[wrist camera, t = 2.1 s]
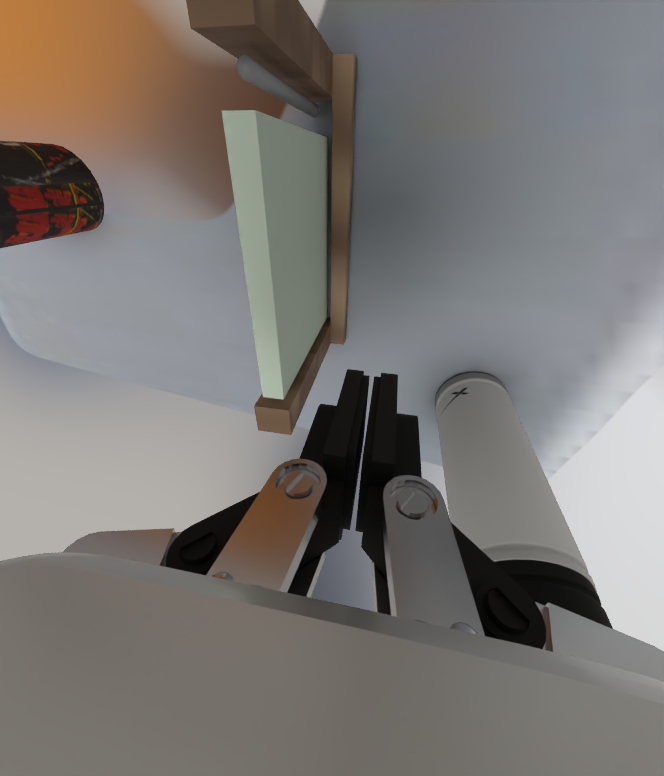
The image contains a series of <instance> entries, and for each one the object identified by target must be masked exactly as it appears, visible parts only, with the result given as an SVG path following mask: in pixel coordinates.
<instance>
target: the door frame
mask: <svg viewBox="0 0 664 776" xmlns="http://www.w3.org/2000/svg"><path fill="white" fill-rule="evenodd" d="M186 2H187V8H188V14H189V20H190V26H191V29H193V30H195V31H196V32H198V33H199V34H201V35H202V36H204V37H205V38H207V39H208V40H210V41H212V42H213V43H215V44H216V45H218V46H220V47H221V48H223V49H224V50H226V51H227V52H229V53H230V54H232V55H233V56H235V57H237V58H238V59H239V57H240V56H242V55H247V56H248V57H250V58H251V59H253V60H254V61H256V62H257V63H258V64H260V65H261V66H263V67H264V68H265V69H267V70H268V71H270V72H271V73H273V74H274V75H275V76H277V77H278V78H280V79H281V80H282V81H284V82H285V83H287V84H288V85H290V86H291V87H292V88H294V89H295V90H297V91H298V92H299V93H301V94H302V95H304V96H305V97H307V98H308V99H309V100H311V101H312V102H324V101H332V206H331V318H326V320H325V322H324V324H323V326H322V328H321V329H320V331H319V333H318V335H317V337H316V339H315V341H314V343H313V345H312V347H311V348H310V350H309V352H308V354H307V356H306V358H305V360H304V362H303V364H302V366H301V368H300V369H299V371H298V373H297V375H296V377H295V379H294V381H293V383H292V385H291V387H290V388H289V390H288V392H287V394H286V396H285V398H284V400H283V399H275V398H267V397H263V394H262V395H261V396H260V398H259V399H258V401H257V403H256V404H255V406H254V408H255V414H256V420H257V425H258V430H261V431H267V432H274V433H281V434H289V435H291V434H292V432H293V429H294V427H295V425H296V422H297V420H298V418H299V415H300V413H301V411H302V408H303V406H304V404H305V401H306V399H307V397H308V394H309V392H310V390H311V387H312V385H313V383H314V380H315V378H316V376H317V373H318V371H319V369H320V366H321V364H322V362H323V359H324V357H325V355H326V352H327V350H328V348H329V345H330V343H334V344H344V343H345V340H346V325H347V299H348V274H349V249H350V223H351V198H352V173H353V147H354V122H355V97H356V71H357V58H356V56H355V54H354V53H346V54H332V52H331V51H330V49H329V47H328V46H327V44H326V43H325V41H324V40H323V38H322V37H321V35H320V33H319V32H318V30H317V29H316V27H315V26H314V24H313V23H312V21H311V19H310V18H309V16H308V15H307V13H306V12H305V11H304V9H303V7H302V6H301V4H300V2H299V1H298V0H186Z"/></svg>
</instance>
